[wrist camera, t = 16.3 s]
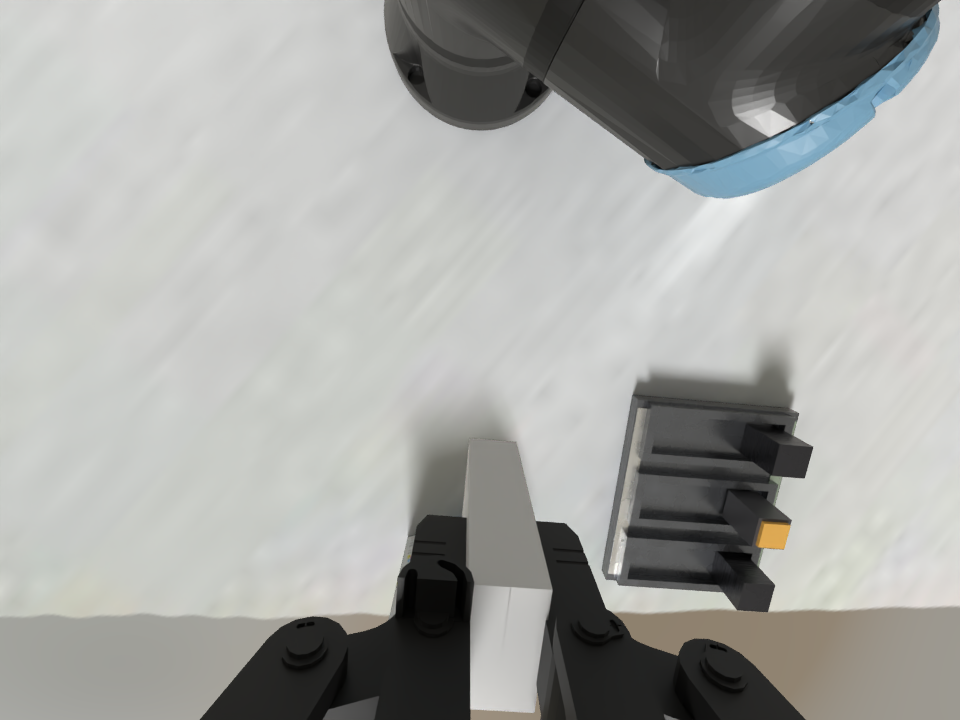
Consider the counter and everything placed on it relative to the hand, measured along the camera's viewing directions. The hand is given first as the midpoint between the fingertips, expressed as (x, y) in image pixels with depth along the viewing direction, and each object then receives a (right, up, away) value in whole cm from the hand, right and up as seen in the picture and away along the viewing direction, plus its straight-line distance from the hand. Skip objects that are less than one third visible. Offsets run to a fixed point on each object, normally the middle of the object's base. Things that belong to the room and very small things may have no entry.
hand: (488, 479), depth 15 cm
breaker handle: (+26, -11, +31) cm, 42 cm away
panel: (+22, -10, +33) cm, 41 cm away
